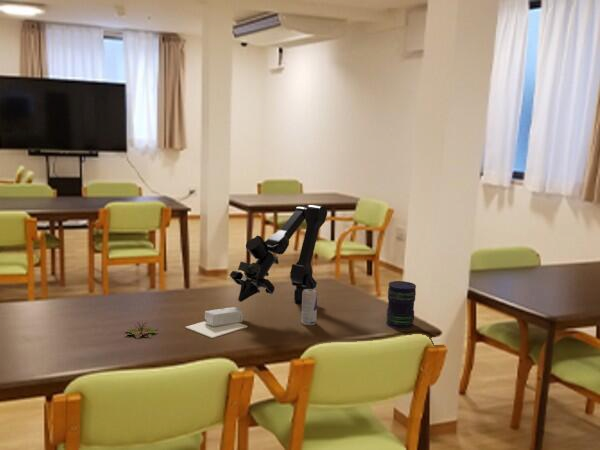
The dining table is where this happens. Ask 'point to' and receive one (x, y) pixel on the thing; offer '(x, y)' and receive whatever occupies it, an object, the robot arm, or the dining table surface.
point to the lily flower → (141, 330)
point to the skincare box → (223, 316)
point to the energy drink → (309, 306)
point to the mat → (215, 329)
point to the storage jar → (401, 304)
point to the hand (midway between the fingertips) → (239, 301)
